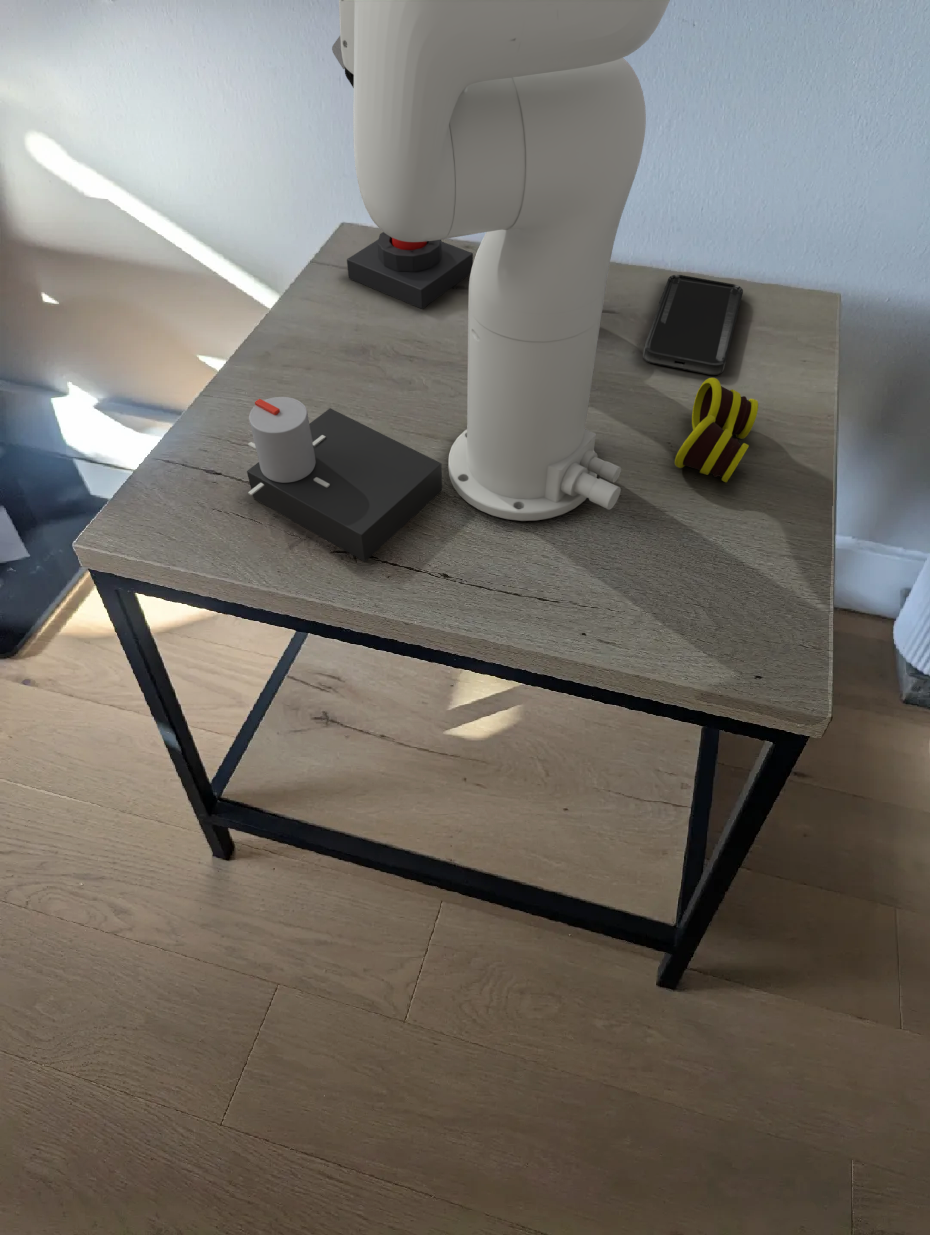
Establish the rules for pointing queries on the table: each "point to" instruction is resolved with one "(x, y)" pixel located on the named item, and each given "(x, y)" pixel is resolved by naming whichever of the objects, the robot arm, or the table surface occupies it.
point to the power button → (408, 244)
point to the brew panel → (353, 486)
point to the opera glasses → (717, 430)
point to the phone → (693, 325)
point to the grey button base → (410, 269)
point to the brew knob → (282, 439)
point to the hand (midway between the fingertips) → (405, 153)
